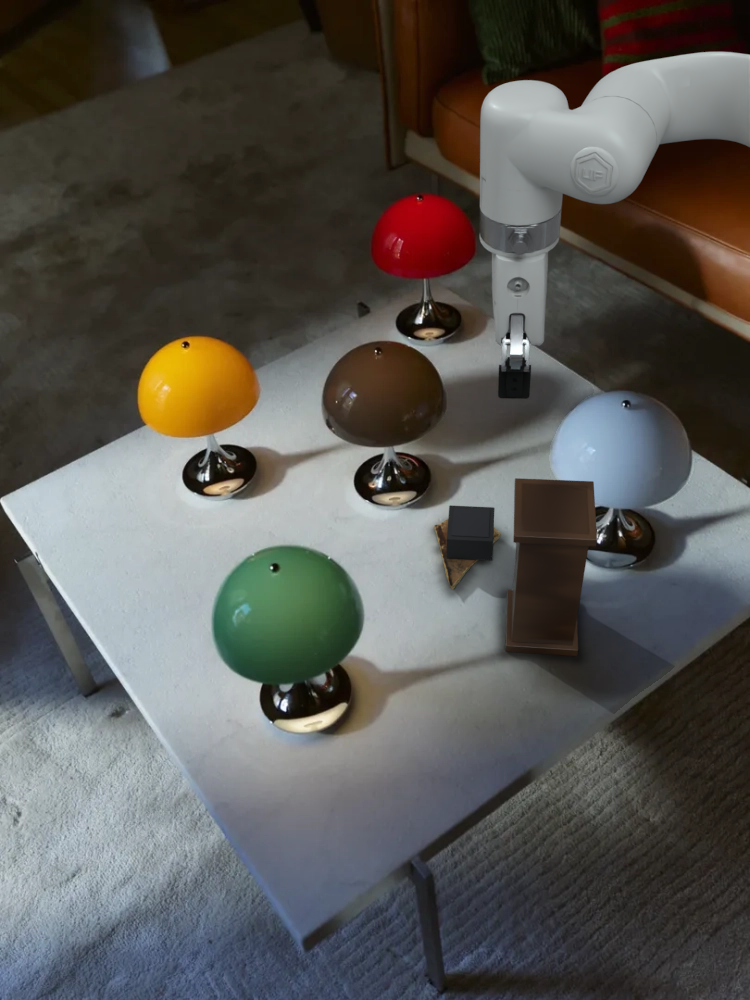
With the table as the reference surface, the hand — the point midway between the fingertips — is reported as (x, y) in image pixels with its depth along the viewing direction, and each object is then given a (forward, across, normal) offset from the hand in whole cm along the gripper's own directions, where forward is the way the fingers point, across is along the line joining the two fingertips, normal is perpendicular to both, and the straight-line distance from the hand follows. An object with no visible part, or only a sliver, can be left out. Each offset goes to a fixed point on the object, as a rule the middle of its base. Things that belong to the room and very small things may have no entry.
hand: (513, 367), depth 101 cm
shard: (+26, -4, +4) cm, 27 cm away
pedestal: (+26, -15, -4) cm, 30 cm away
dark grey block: (+24, -4, +4) cm, 25 cm away
